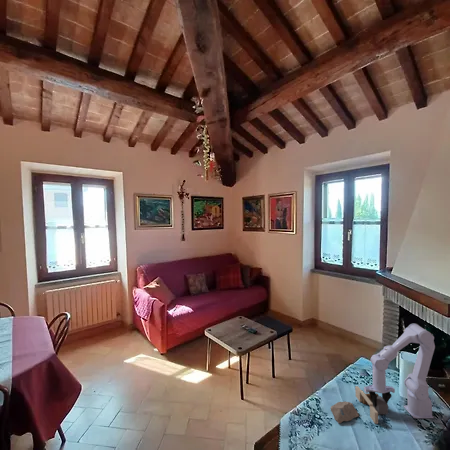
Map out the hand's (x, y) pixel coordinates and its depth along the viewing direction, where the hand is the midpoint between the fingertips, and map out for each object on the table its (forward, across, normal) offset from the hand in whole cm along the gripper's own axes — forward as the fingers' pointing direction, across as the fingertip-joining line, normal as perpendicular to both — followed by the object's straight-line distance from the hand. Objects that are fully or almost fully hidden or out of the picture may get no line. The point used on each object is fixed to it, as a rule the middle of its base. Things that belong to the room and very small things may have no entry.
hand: (379, 405), depth 127 cm
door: (+2, +2, -4) cm, 5 cm away
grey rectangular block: (+2, 0, 0) cm, 2 cm away
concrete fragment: (+3, +20, +4) cm, 20 cm away
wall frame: (+2, +7, -1) cm, 7 cm away
